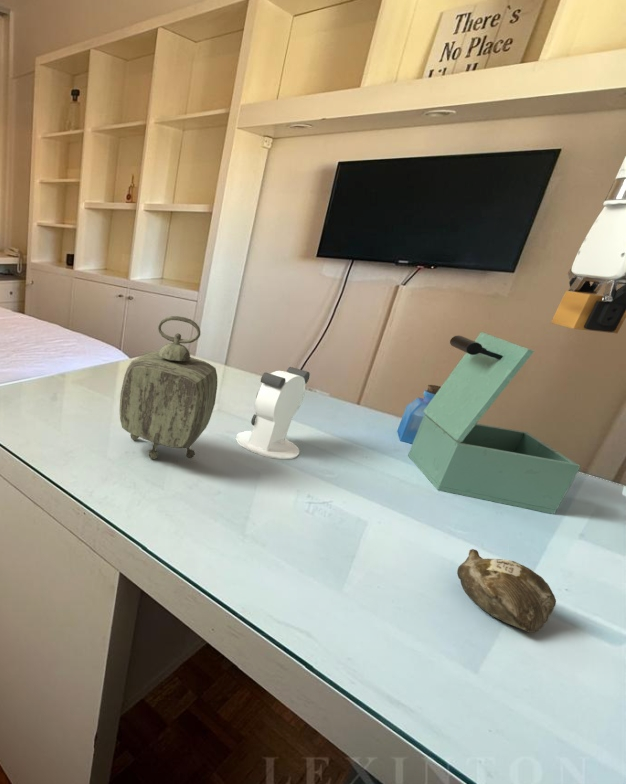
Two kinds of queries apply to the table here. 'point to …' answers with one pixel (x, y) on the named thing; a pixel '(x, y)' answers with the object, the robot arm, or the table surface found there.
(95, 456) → the table surface
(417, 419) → the perfume bottle
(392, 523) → the table surface
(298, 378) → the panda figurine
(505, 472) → the green storage box
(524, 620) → the fossilized seashell
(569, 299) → the block
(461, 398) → the lid
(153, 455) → the tabletop clock
